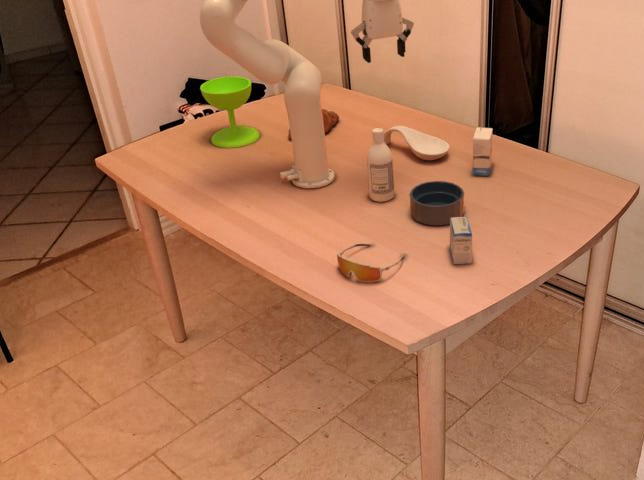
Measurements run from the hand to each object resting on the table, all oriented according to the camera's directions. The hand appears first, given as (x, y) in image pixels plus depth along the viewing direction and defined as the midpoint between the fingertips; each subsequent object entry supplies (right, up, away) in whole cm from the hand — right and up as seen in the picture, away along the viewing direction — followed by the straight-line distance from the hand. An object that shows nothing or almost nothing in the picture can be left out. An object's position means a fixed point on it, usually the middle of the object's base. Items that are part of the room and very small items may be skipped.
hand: (384, 58), depth 189 cm
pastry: (-26, -9, +50) cm, 57 cm away
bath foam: (-1, -36, +10) cm, 37 cm away
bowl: (+14, -41, +1) cm, 44 cm away
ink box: (+28, -27, +22) cm, 45 cm away
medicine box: (+19, -53, -16) cm, 59 cm away
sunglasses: (-3, -56, -19) cm, 59 cm away
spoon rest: (+8, -20, +33) cm, 39 cm away
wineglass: (-52, -13, +46) cm, 71 cm away
